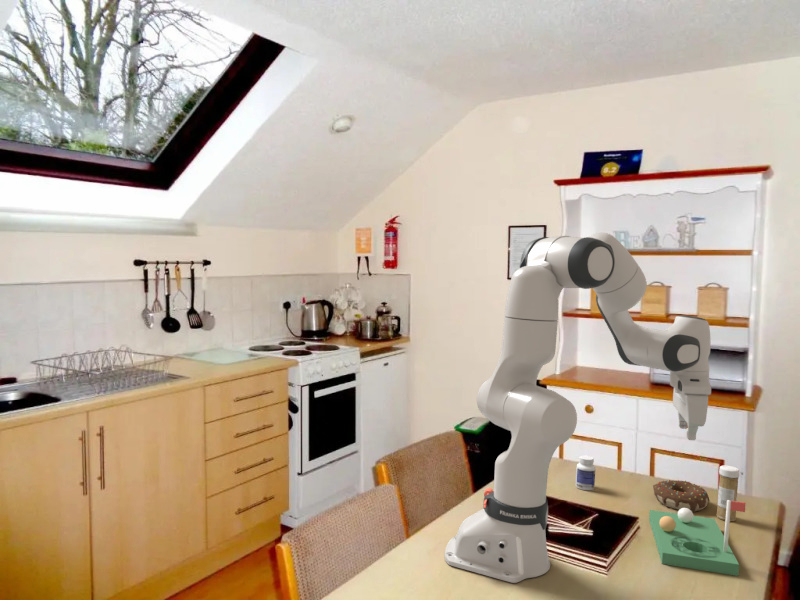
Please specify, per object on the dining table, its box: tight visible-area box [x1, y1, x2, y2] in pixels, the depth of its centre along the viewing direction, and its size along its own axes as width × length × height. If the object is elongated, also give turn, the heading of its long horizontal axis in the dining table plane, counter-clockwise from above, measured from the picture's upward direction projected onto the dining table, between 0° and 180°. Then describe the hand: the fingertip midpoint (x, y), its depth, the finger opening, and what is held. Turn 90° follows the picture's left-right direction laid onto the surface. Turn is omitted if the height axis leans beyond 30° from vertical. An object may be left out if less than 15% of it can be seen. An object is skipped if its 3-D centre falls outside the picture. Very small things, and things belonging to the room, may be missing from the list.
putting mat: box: [648, 500, 746, 577], centre depth 142 cm, size 17×24×14 cm
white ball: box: [677, 508, 694, 523], centre depth 149 cm, size 4×4×4 cm
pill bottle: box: [575, 454, 596, 491], centre depth 176 cm, size 5×5×9 cm
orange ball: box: [659, 516, 676, 532], centre depth 143 cm, size 4×4×4 cm
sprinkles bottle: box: [716, 464, 740, 522], centre depth 158 cm, size 5×5×14 cm
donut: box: [652, 479, 710, 512], centre depth 167 cm, size 14×14×5 cm
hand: (686, 433), depth 154 cm, fingers open, 8 cm apart
